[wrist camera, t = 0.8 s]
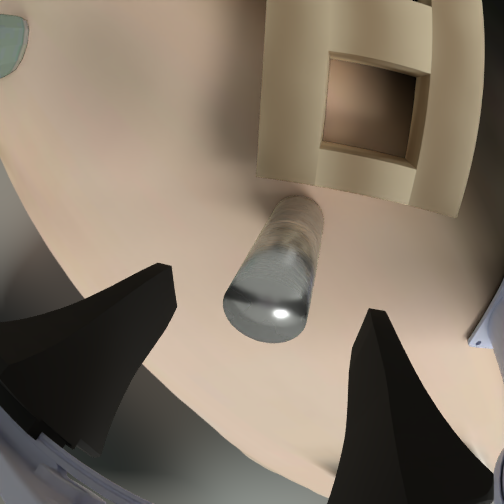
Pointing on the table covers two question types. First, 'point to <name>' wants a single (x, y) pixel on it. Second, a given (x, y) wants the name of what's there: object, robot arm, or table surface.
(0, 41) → the disposable coffee cup
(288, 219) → the pin
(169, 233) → the table surface
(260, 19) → the table surface
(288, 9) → the socket block
